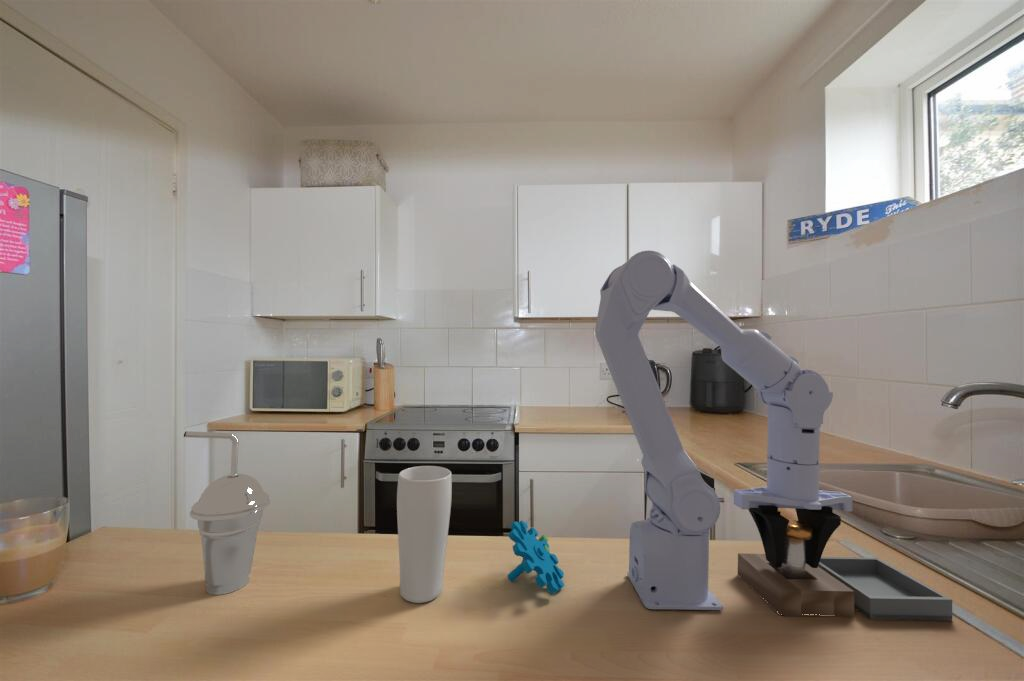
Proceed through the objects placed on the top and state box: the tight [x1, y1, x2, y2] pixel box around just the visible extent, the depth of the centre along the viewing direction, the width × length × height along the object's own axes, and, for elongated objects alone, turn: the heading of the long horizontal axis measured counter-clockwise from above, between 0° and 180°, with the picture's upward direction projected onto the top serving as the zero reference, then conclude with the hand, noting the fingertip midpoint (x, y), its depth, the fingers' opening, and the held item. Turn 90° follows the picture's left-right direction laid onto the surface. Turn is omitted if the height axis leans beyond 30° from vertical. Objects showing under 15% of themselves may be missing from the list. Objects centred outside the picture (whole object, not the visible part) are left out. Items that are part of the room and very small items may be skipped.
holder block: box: [737, 553, 855, 618], centre depth 54 cm, size 9×9×3 cm
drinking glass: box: [396, 465, 453, 604], centre depth 52 cm, size 7×7×15 cm
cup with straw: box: [183, 430, 271, 596], centre depth 53 cm, size 8×9×20 cm
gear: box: [507, 520, 566, 595], centre depth 56 cm, size 11×6×10 cm
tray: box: [818, 556, 953, 622], centre depth 54 cm, size 10×10×2 cm
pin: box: [778, 518, 813, 579], centre depth 54 cm, size 4×4×9 cm
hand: (791, 563), depth 54 cm, fingers closed on pin, 4 cm apart
